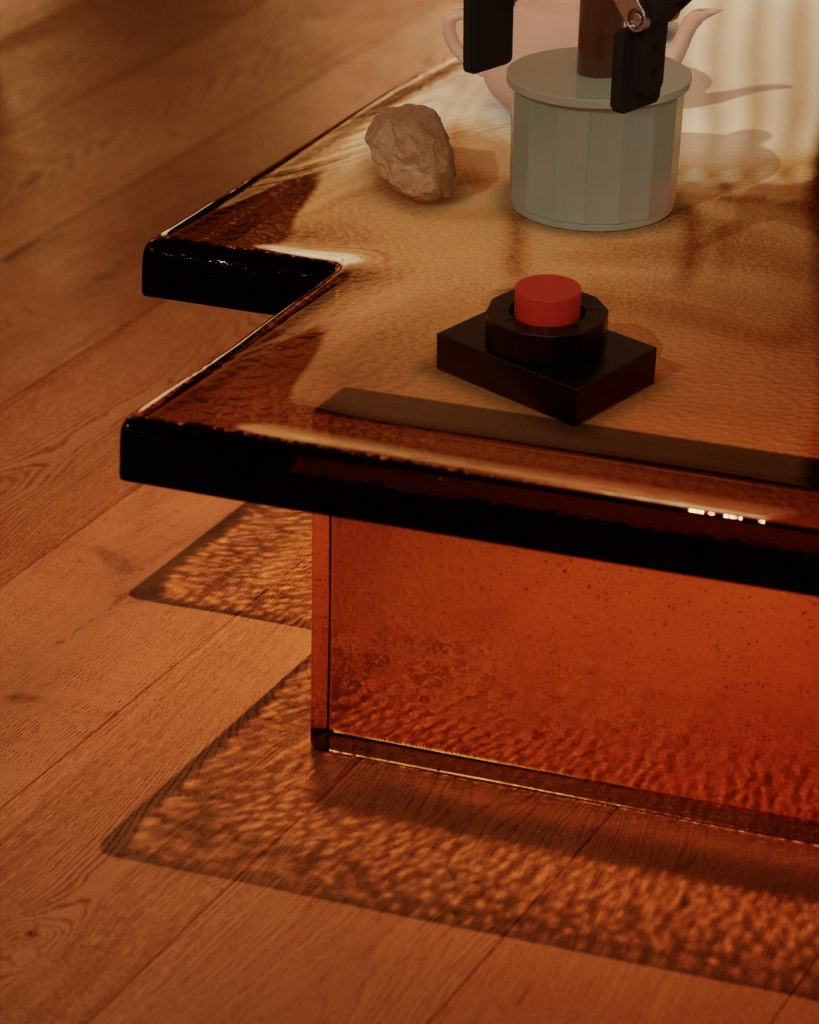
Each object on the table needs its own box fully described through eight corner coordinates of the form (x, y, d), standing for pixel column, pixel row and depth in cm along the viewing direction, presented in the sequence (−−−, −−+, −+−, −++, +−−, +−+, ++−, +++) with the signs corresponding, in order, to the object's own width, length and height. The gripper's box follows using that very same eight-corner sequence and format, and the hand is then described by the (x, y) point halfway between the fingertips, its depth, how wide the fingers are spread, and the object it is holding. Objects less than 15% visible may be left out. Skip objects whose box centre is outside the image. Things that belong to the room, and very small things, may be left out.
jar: (706, 199, 112) (717, 79, 108) (605, 245, 106) (613, 118, 101) (579, 162, 119) (585, 47, 115) (476, 202, 112) (478, 82, 108)
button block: (654, 383, 89) (660, 316, 87) (574, 427, 84) (578, 358, 82) (517, 329, 95) (519, 266, 92) (436, 368, 90) (436, 303, 88)
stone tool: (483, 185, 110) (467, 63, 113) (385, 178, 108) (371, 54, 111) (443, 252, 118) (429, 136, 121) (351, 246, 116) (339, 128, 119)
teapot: (425, 127, 126) (425, -13, 121) (457, 77, 138) (459, -53, 132) (707, 145, 122) (721, 1, 117) (717, 92, 134) (730, -42, 128)
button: (593, 316, 88) (595, 286, 87) (551, 336, 85) (552, 306, 84) (542, 297, 90) (543, 268, 89) (500, 317, 88) (501, 287, 87)
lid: (727, 88, 108) (737, -14, 105) (613, 131, 101) (620, 23, 97) (583, 53, 116) (588, -43, 112) (467, 91, 108) (469, -11, 105)
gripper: (783, -285, 69) (744, 105, 78) (487, -306, 80) (482, 40, 89) (679, -270, 65) (650, 142, 74) (379, -295, 75) (386, 69, 84)
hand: (558, 86), depth 81 cm, fingers open, 9 cm apart
